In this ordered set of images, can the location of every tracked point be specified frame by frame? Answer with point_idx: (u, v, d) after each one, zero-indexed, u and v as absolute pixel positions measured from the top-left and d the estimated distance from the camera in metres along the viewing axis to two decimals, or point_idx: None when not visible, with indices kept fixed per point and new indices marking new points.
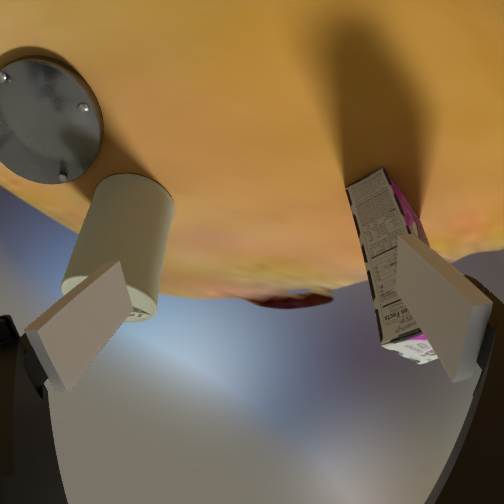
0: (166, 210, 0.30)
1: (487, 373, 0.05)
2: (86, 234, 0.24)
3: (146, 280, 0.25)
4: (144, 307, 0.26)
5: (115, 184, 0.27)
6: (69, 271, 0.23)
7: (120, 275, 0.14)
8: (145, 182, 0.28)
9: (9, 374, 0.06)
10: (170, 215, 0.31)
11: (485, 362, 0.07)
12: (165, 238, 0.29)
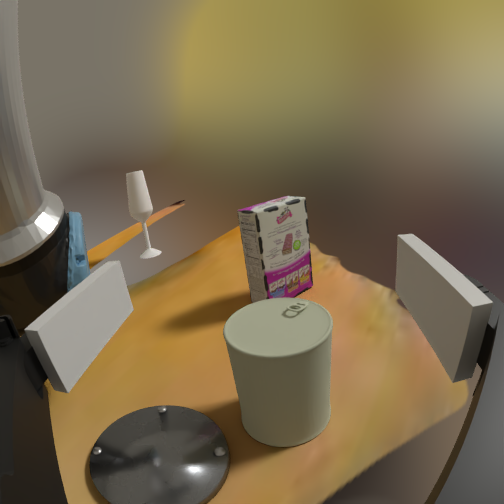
0: None
1: (487, 373, 0.05)
2: (234, 376, 0.26)
3: None
4: (287, 303, 0.29)
5: None
6: (229, 347, 0.24)
7: (120, 275, 0.14)
8: None
9: (9, 374, 0.06)
10: None
11: (485, 362, 0.07)
12: None
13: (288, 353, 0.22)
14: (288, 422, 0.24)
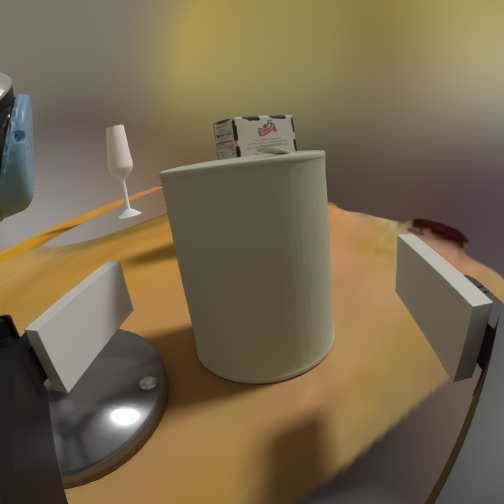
0: None
1: (487, 373, 0.05)
2: (175, 250, 0.17)
3: None
4: (259, 156, 0.20)
5: None
6: (163, 186, 0.15)
7: (120, 275, 0.14)
8: None
9: (9, 374, 0.06)
10: None
11: (485, 362, 0.07)
12: None
13: (250, 161, 0.13)
14: (262, 325, 0.15)
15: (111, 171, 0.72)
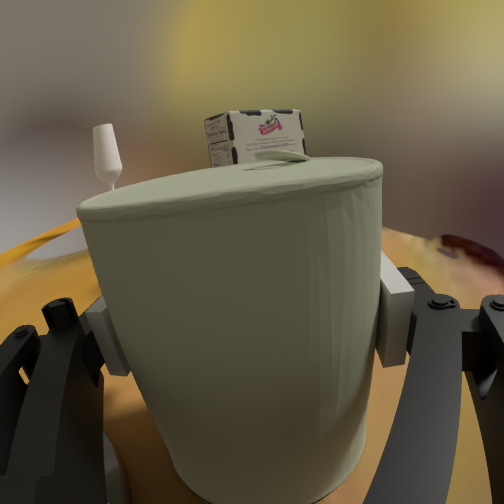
0: None
1: (409, 363, 0.06)
2: None
3: None
4: (260, 165, 0.12)
5: None
6: None
7: None
8: None
9: (63, 361, 0.07)
10: None
11: None
12: None
13: (235, 188, 0.05)
14: (262, 466, 0.08)
15: (98, 175, 0.65)
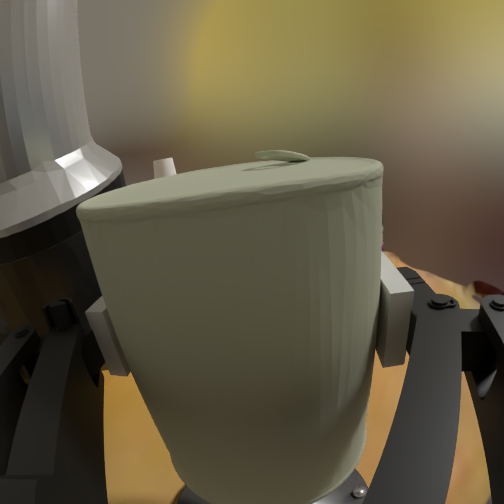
0: None
1: (409, 363, 0.06)
2: None
3: None
4: (260, 165, 0.12)
5: None
6: None
7: None
8: None
9: (63, 361, 0.07)
10: None
11: None
12: None
13: (236, 188, 0.05)
14: (262, 467, 0.08)
15: None
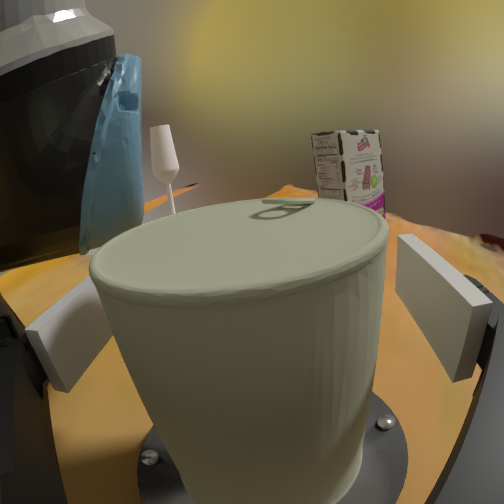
0: None
1: (487, 373, 0.05)
2: None
3: None
4: (265, 204, 0.13)
5: None
6: None
7: None
8: None
9: (9, 374, 0.06)
10: None
11: (485, 362, 0.07)
12: None
13: (250, 282, 0.06)
14: (267, 493, 0.08)
15: (157, 174, 0.71)
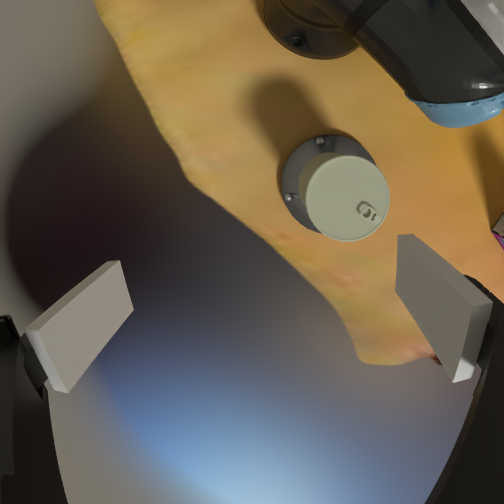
0: None
1: (487, 373, 0.05)
2: (323, 158, 0.34)
3: None
4: (379, 204, 0.31)
5: (327, 153, 0.39)
6: (323, 162, 0.31)
7: (120, 275, 0.14)
8: None
9: (9, 374, 0.06)
10: None
11: (485, 362, 0.07)
12: None
13: (309, 210, 0.32)
14: None
15: None
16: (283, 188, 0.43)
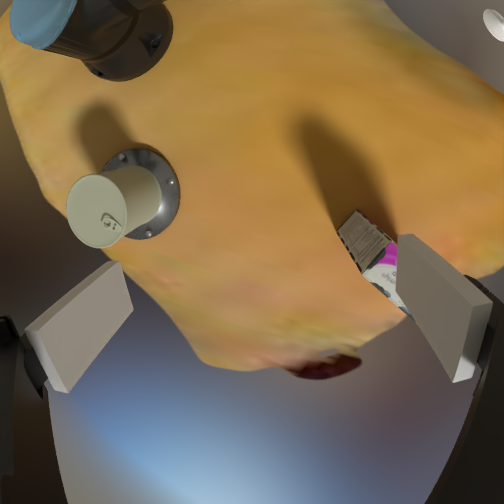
0: (153, 185, 0.42)
1: (487, 373, 0.05)
2: None
3: (124, 189, 0.34)
4: (118, 214, 0.34)
5: None
6: None
7: (120, 275, 0.14)
8: (142, 168, 0.43)
9: (9, 374, 0.06)
10: (156, 192, 0.43)
11: (485, 362, 0.07)
12: (148, 196, 0.40)
13: (70, 223, 0.35)
14: None
15: None
16: None
